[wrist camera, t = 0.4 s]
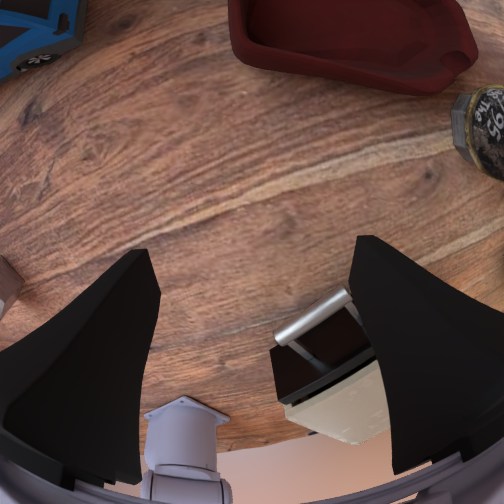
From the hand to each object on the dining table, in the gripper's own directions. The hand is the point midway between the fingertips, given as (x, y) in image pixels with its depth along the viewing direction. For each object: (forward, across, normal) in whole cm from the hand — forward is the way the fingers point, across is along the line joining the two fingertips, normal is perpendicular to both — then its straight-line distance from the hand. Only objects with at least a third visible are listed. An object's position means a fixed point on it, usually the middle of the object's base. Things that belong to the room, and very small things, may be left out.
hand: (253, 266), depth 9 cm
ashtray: (+12, -6, -12) cm, 18 cm away
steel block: (+8, +26, +7) cm, 28 cm away
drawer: (+8, -9, +16) cm, 20 cm away
